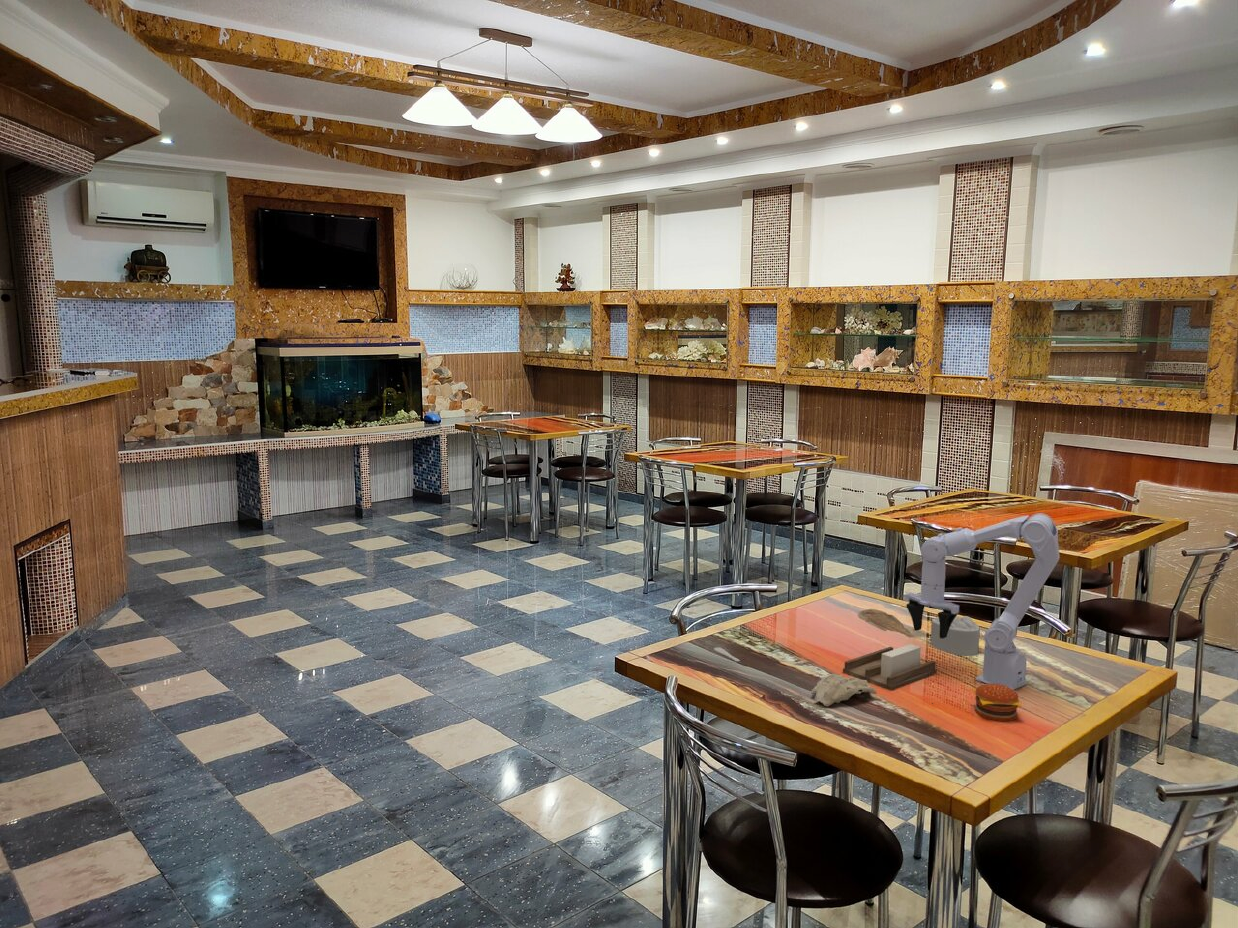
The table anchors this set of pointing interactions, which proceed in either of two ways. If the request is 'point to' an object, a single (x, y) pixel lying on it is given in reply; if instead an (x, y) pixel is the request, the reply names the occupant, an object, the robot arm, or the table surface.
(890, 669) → the white rectangular block
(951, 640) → the lumpy-topped squat cylinder
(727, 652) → the butter knife
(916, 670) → the rack
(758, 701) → the table surface
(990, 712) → the hamburger
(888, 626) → the fish fossil
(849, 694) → the coral
